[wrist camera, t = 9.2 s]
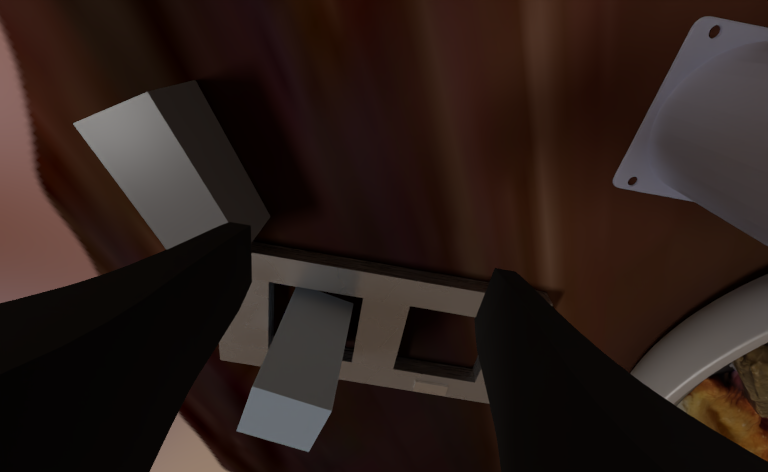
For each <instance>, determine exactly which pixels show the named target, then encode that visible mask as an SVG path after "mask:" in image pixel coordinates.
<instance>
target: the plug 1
mask: <svg viewBox="0 0 768 472" xmlns="http://www.w3.org/2000/svg"><path fill="white" fill-rule="evenodd" d="M73 124H74V126H75V127H76V128H77V130H78V131H79V132H80V134H81V135H82V136H83V138H84V139H85V140H86V142H87V143H88V144H89V146H90V147H91V148H92V150H93V151H94V152H95V154H96V155H97V157H98V158H99V159H100V161H101V162H102V163H103V165H104V166H105V167H106V169H107V170H108V171H109V173H110V174H111V175H112V177H113V178H114V179H115V181H116V182H117V183H118V185H119V186H120V187H121V189H122V190H123V192H124V193H125V194H126V196H127V197H128V198H129V200H130V201H131V202H132V204H133V205H134V206H135V208H136V209H137V210H138V212H139V213H140V214H141V216H142V217H143V218H144V220H145V221H146V222H147V224H148V225H149V226H150V228H151V229H152V231H153V232H154V233H155V235H156V236H157V237H158V239H159V240H160V241H161V243H162V244H163V245H164V247H165V248H166V249H169V248H172V247H174V246H176V245H178V244H180V243H183V242H185V241H187V240H189V239H192V238H194V237H196V236H198V235H200V234H202V233H205V232H207V231H209V230H211V229H213V228H216V227H218V226H220V225H223V224H225V223H228V222H234V223H239V224H245V225H251V243H252V241H253V240H254V239H255V237H256V236H257V235H258V233H259V232H260V230H261V229H262V228H263V226H264V225H265V224H266V222H267V221H268V219H269V218H270V217H271V216H270V215H269V213H268V211H267V209H266V207H265V206H264V204H263V202H262V200H261V198H260V196H259V195H258V193H257V191H256V189H255V187H254V186H253V184H252V182H251V180H250V178H249V176H248V175H247V173H246V171H245V169H244V167H243V166H242V164H241V162H240V160H239V158H238V157H237V155H236V153H235V151H234V149H233V147H232V146H231V144H230V142H229V140H228V138H227V137H226V135H225V133H224V131H223V129H222V127H221V126H220V124H219V122H218V120H217V118H216V117H215V115H214V113H213V111H212V109H211V107H210V106H209V104H208V102H207V100H206V98H205V97H204V95H203V93H202V91H201V89H200V88H199V86H198V84H197V82H196V80H193V81H189V82H185V83H181V84H177V85H173V86H169V87H165V88H161V89H157V90H153V91H149V92H146V93H143V94H141V95H139V96H136V97H134V98H132V99H129V100H127V101H125V102H122V103H120V104H118V105H115V106H113V107H111V108H108V109H106V110H103V111H101V112H99V113H96V114H94V115H92V116H89V117H87V118H85V119H82V120H80V121H78V122H75V123H73Z"/></svg>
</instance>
